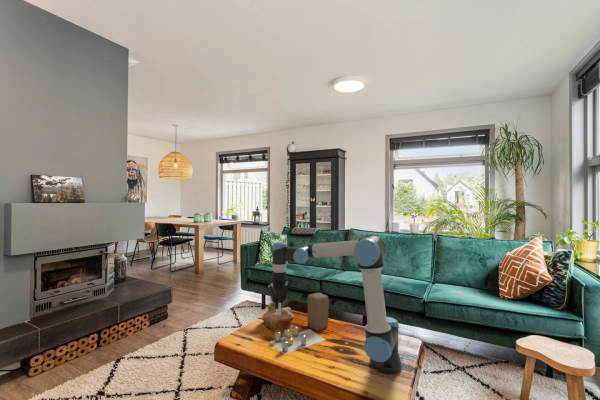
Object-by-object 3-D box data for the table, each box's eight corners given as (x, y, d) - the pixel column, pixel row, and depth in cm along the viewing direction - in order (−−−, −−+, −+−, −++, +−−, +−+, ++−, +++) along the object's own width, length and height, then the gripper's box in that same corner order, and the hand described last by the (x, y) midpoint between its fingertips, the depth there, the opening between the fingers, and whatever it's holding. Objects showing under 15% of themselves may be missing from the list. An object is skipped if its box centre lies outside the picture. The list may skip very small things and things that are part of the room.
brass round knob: (295, 344, 162) (295, 338, 162) (288, 346, 159) (288, 341, 159) (290, 340, 166) (290, 335, 166) (282, 342, 162) (283, 337, 162)
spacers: (310, 344, 162) (310, 335, 162) (284, 353, 152) (284, 343, 152) (296, 334, 173) (296, 325, 173) (271, 341, 164) (271, 333, 164)
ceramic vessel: (280, 339, 169) (280, 313, 169) (258, 323, 190) (258, 300, 190) (299, 332, 177) (300, 308, 177) (276, 318, 198) (276, 296, 198)
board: (326, 341, 167) (326, 339, 167) (284, 356, 151) (284, 354, 151) (309, 330, 180) (309, 329, 180) (269, 343, 164) (269, 341, 164)
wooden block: (319, 321, 193) (319, 291, 193) (328, 327, 185) (329, 296, 185) (306, 325, 187) (307, 294, 187) (316, 331, 179) (316, 299, 179)
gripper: (285, 267, 164) (285, 309, 165) (265, 271, 157) (264, 314, 157) (293, 270, 158) (292, 314, 159) (271, 274, 151) (271, 319, 151)
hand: (278, 314), depth 158 cm, fingers closed
